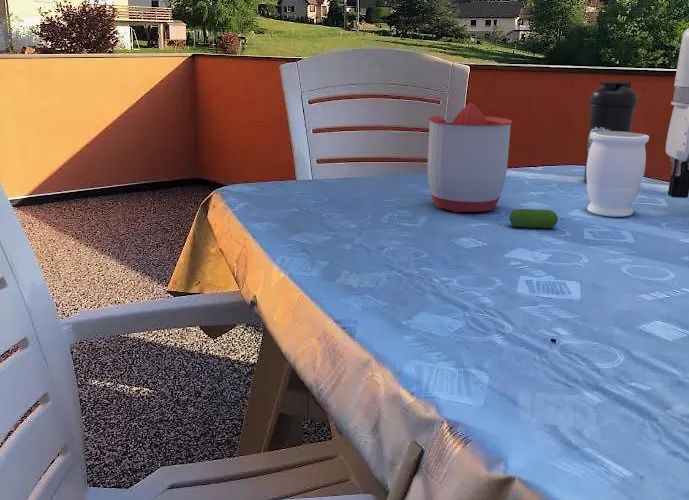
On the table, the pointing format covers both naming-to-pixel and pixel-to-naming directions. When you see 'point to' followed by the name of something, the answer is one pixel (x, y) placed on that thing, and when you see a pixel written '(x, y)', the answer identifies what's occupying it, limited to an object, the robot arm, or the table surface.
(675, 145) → the robot arm
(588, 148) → the water bottle
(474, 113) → the citrus juicer
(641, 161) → the jar
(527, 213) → the pickle
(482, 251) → the table surface
